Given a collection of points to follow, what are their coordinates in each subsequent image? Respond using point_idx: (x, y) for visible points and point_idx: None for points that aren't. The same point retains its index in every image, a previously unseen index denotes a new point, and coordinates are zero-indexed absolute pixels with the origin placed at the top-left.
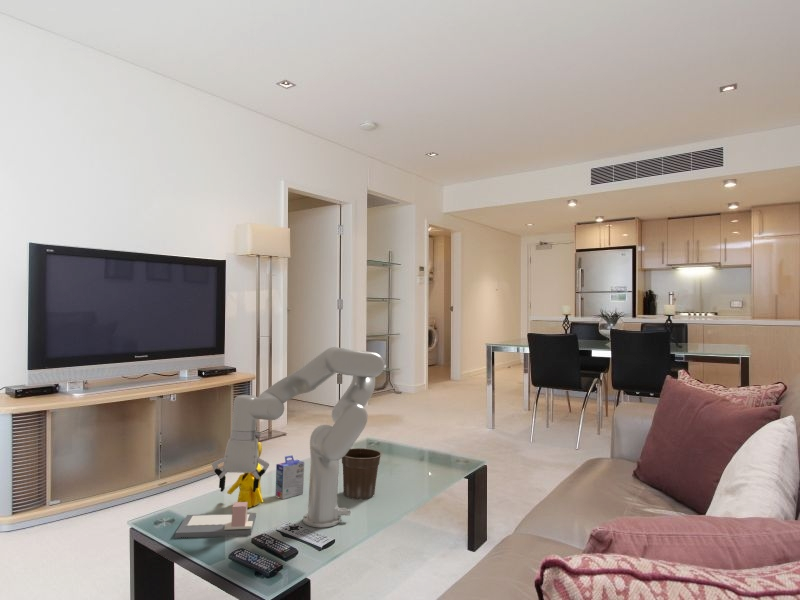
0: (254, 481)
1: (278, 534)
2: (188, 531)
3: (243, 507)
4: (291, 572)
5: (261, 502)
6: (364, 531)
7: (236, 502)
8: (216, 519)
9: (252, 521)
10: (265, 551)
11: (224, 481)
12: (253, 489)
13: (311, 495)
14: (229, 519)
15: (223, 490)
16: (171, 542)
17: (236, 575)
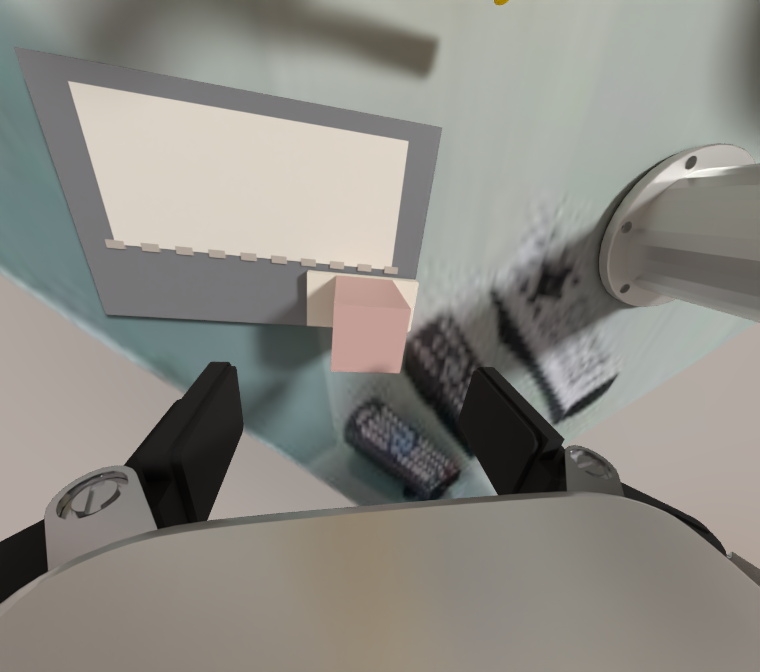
0: (501, 492)
1: (488, 328)
2: (159, 309)
3: (387, 370)
4: (469, 492)
5: (498, 4)
6: (712, 341)
7: (346, 308)
8: (244, 187)
9: (416, 287)
10: (434, 419)
11: (211, 465)
12: (468, 435)
13: (756, 289)
14: (311, 201)
15: (241, 409)
16: (129, 341)
17: (367, 497)
